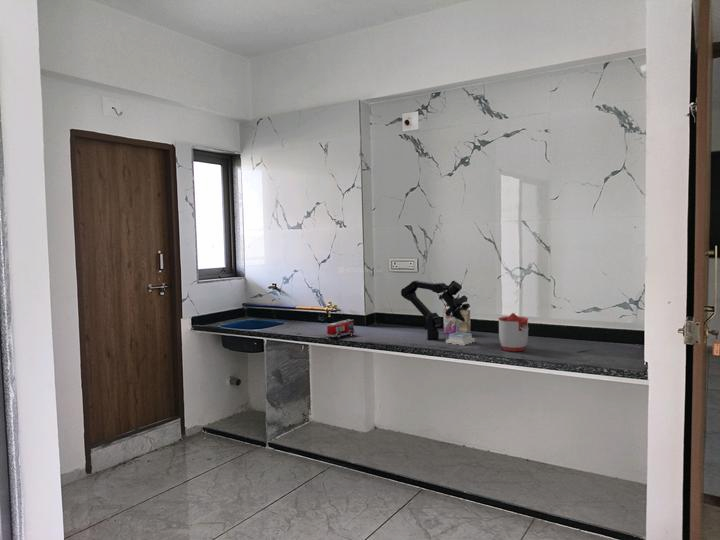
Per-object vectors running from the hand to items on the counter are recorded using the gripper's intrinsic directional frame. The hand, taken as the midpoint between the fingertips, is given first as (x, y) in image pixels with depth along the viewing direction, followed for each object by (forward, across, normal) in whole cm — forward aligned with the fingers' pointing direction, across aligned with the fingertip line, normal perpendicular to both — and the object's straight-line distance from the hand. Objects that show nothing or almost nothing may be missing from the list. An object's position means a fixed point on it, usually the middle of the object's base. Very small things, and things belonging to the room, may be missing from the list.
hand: (466, 320), depth 317 cm
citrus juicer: (+30, -1, -12) cm, 33 cm away
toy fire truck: (-44, -25, +65) cm, 83 cm away
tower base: (+6, 0, +12) cm, 14 cm away
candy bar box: (-6, +20, +26) cm, 33 cm away
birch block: (+4, 0, +6) cm, 7 cm away
